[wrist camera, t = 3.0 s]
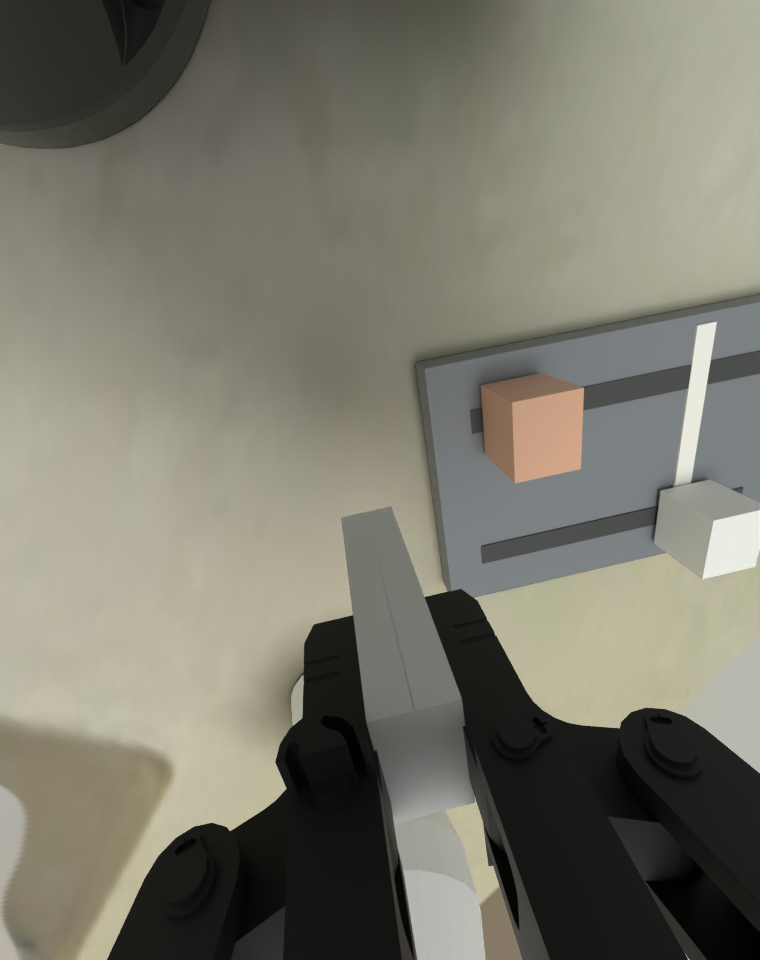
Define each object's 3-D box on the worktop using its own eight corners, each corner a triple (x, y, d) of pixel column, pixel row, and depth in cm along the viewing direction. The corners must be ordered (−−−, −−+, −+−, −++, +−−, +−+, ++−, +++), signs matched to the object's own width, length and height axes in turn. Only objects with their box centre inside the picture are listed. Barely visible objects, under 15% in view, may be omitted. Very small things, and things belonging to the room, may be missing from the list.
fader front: (480, 385, 20) (512, 402, 17) (541, 372, 20) (584, 387, 17) (485, 455, 21) (515, 483, 18) (541, 443, 22) (580, 468, 18)
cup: (362, 612, 27) (410, 928, 14) (445, 695, 32) (545, 1000, 18) (236, 695, 29) (165, 1059, 15) (332, 765, 33) (345, 1096, 19)
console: (415, 362, 21) (425, 369, 19) (780, 290, 23) (823, 289, 21) (443, 581, 27) (453, 603, 25) (731, 515, 28) (762, 531, 26)
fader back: (660, 490, 24) (713, 520, 21) (710, 479, 24) (770, 507, 21) (653, 543, 25) (702, 579, 22) (700, 532, 26) (755, 566, 22)
